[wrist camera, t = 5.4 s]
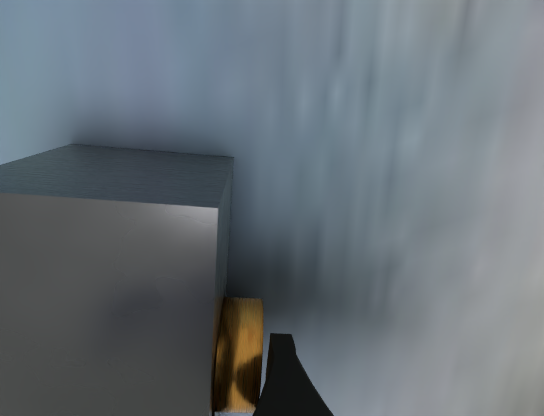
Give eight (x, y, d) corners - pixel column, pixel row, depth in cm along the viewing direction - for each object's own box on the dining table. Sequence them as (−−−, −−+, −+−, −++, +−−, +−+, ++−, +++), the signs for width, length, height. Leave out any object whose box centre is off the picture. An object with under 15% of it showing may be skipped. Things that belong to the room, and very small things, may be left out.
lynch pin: (262, 279, 14) (264, 348, 10) (254, 354, 15) (254, 440, 12) (-55, 262, 13) (-179, 331, 9) (-33, 343, 14) (-135, 433, 11)
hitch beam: (233, 157, 13) (217, 208, 7) (218, 422, 17) (202, 574, 12) (71, 144, 12) (-75, 187, 7) (100, 419, 17) (26, 576, 11)
